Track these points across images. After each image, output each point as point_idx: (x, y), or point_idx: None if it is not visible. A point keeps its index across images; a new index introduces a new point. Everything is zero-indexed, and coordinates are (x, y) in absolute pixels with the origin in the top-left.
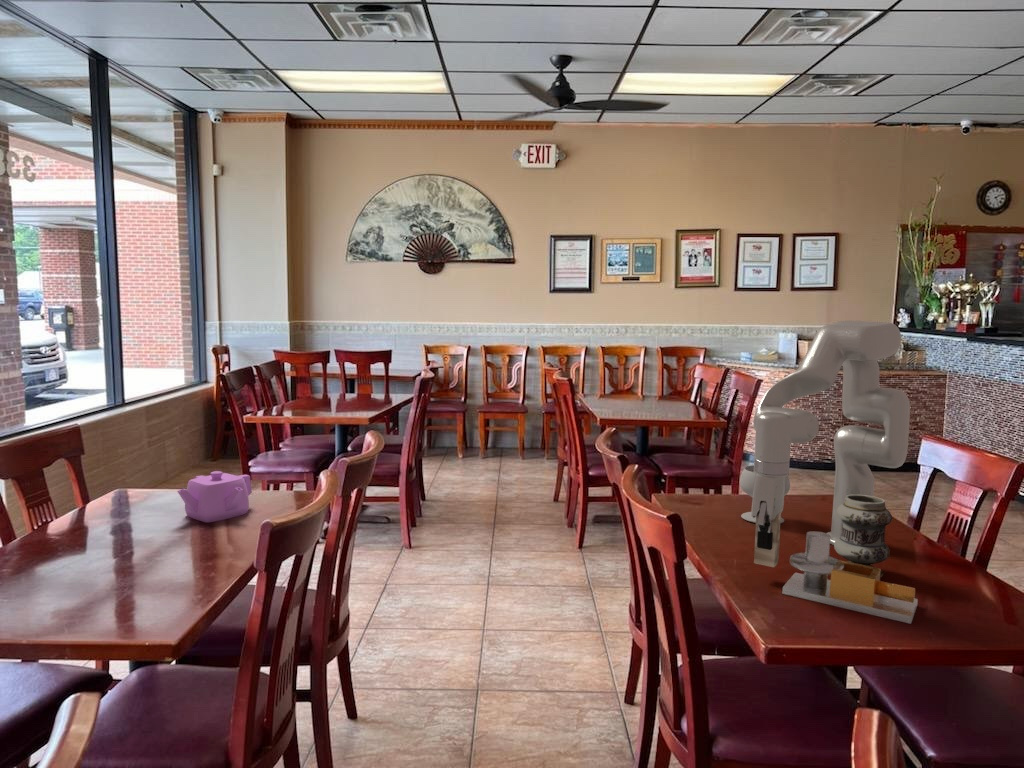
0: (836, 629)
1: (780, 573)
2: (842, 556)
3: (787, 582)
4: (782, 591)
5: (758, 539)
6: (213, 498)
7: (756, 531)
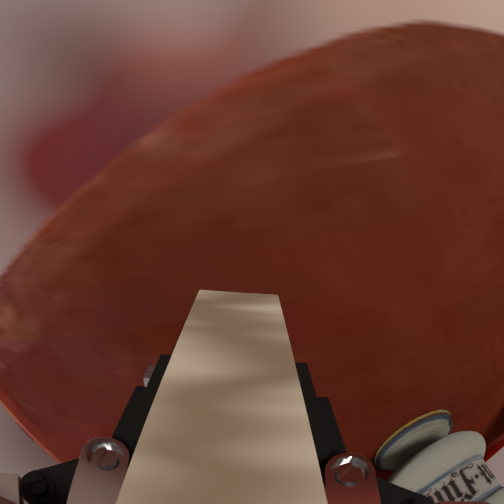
0: (66, 439)
1: (336, 329)
2: (411, 458)
3: None
4: (147, 369)
5: (148, 390)
6: None
7: (152, 413)
